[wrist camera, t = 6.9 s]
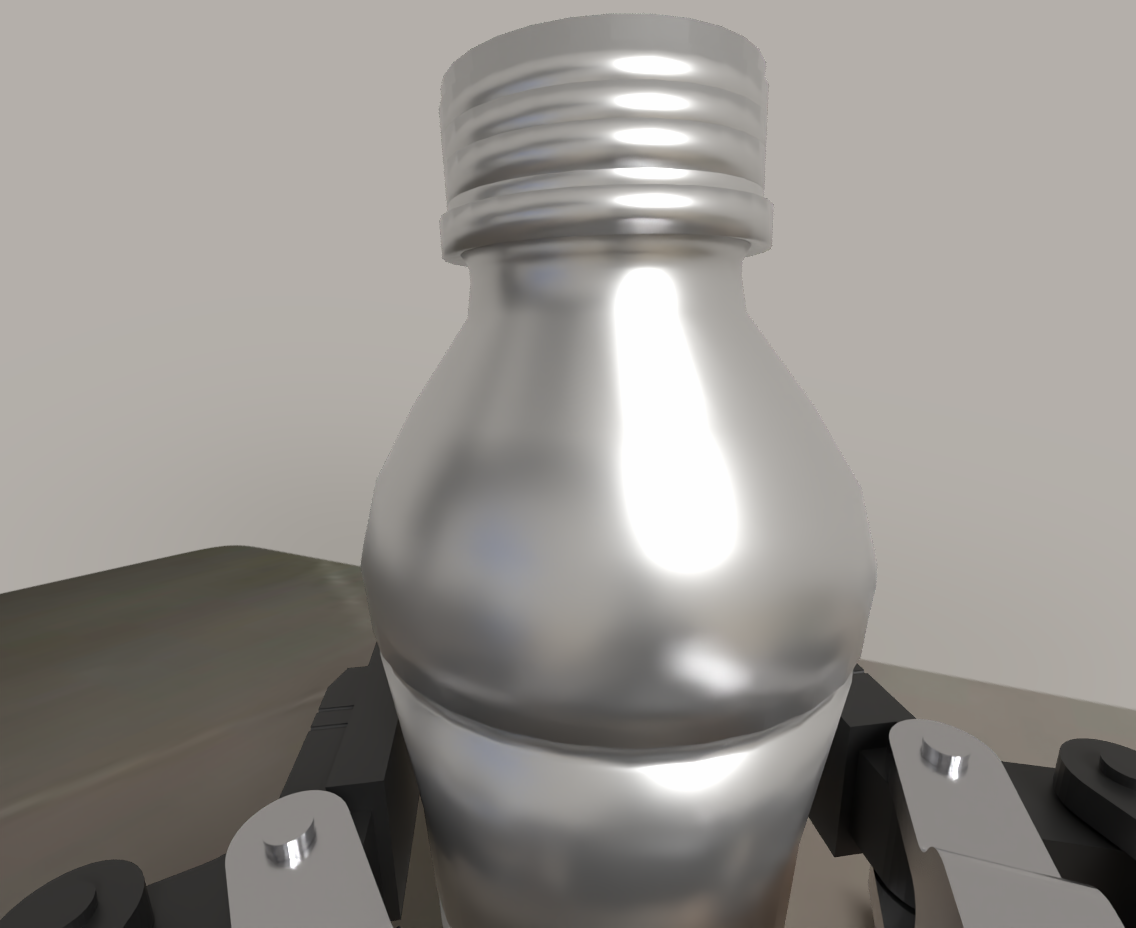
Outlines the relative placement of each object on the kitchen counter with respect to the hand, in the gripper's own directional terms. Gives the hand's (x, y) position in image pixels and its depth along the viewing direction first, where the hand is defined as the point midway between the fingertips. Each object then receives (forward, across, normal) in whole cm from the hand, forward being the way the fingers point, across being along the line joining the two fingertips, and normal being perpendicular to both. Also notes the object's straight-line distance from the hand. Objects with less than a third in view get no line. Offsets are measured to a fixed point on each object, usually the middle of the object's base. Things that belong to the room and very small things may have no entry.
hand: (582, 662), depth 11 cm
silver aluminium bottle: (-2, 0, +11) cm, 11 cm away
